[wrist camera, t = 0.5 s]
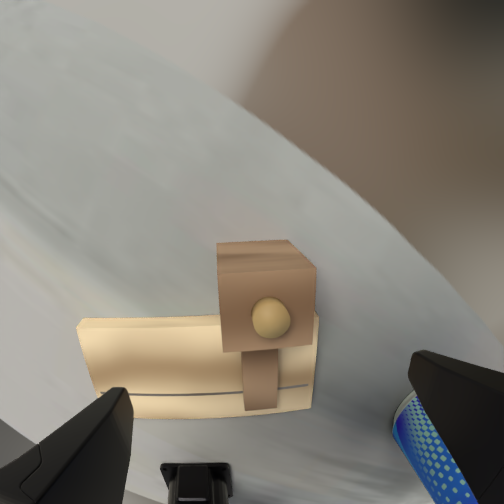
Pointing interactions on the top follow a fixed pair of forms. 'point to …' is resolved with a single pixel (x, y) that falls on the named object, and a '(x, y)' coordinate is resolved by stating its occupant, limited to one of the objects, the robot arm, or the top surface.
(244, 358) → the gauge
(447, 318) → the top surface
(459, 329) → the top surface
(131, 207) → the top surface
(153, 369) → the board
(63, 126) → the top surface
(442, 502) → the beer can
